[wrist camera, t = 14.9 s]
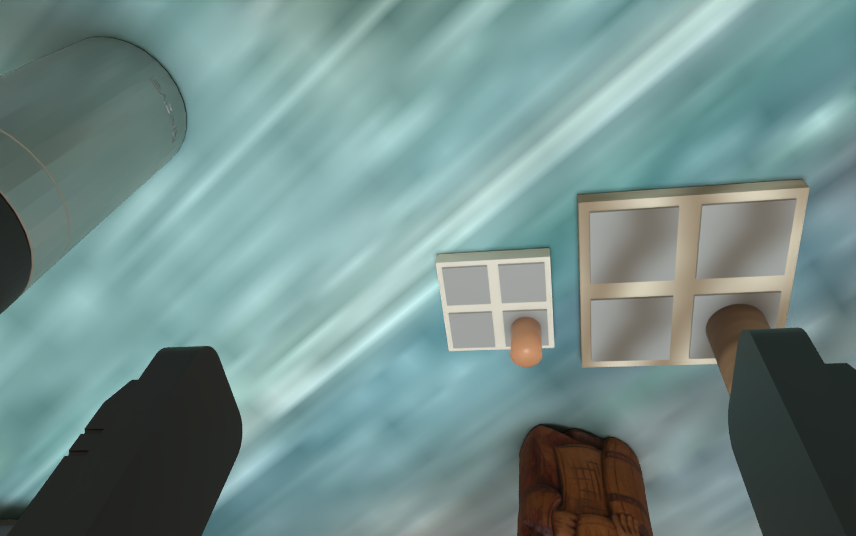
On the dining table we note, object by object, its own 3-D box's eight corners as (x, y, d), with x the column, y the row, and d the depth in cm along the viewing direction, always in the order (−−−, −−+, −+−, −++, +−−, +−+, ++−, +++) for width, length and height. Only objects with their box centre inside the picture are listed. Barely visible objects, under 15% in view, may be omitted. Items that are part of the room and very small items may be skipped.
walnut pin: (704, 350, 49) (733, 431, 42) (707, 305, 47) (738, 382, 40) (763, 348, 48) (802, 429, 42) (769, 302, 46) (811, 379, 40)
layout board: (580, 357, 52) (582, 369, 51) (577, 194, 45) (578, 204, 44) (773, 351, 50) (779, 363, 49) (802, 179, 43) (810, 188, 42)
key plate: (450, 341, 53) (445, 378, 49) (437, 254, 49) (430, 287, 45) (553, 337, 52) (556, 376, 48) (549, 248, 48) (551, 282, 44)
